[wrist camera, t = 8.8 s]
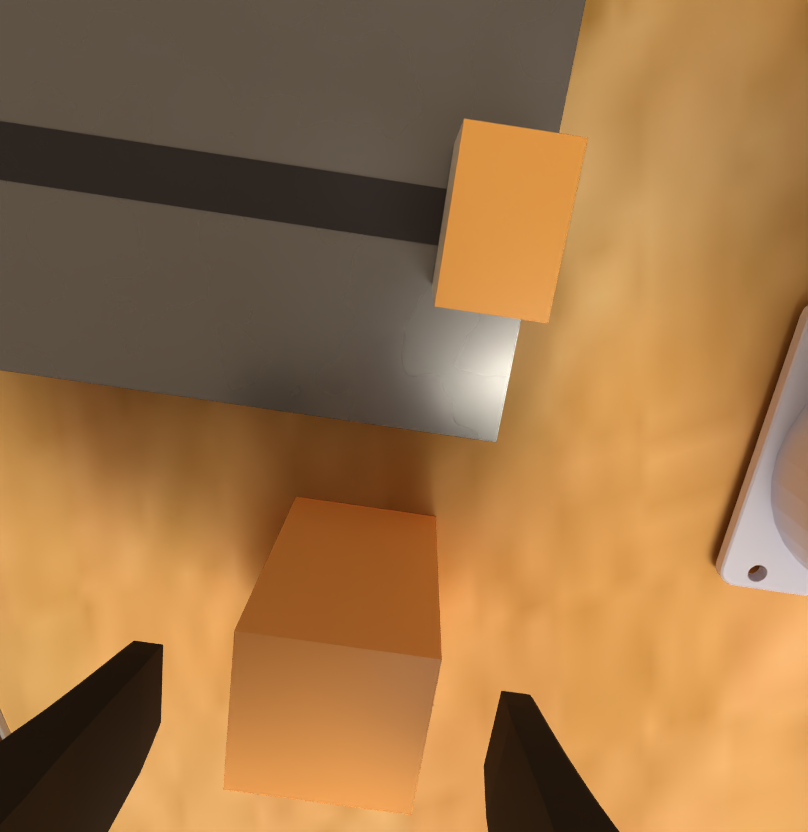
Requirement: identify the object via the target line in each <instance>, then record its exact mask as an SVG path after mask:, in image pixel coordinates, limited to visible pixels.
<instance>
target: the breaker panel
mask: <svg viewBox="0 0 808 832" xmlns="http://www.w3.org/2000/svg"><path fill="white" fill-rule="evenodd" d="M585 1H586V0H0V370H4V371H10V372H17V373H24V374H31V375H38V376H45V377H52V378H58V379H65V380H72V381H79V382H86V383H93V384H100V385H106V386H113V387H120V388H127V389H134V390H141V391H148V392H154V393H161V394H168V395H175V396H182V397H189V398H196V399H202V400H209V401H216V402H223V403H230V404H237V405H244V406H251V407H257V408H264V409H271V410H278V411H285V412H292V413H299V414H305V415H312V416H319V417H326V418H333V419H340V420H347V421H353V422H360V423H367V424H374V425H381V426H388V427H395V428H401V429H408V430H415V431H422V432H429V433H436V434H443V435H449V436H456V437H463V438H470V439H477V440H484V441H491V442H496V441H497V436H498V431H499V426H500V421H501V416H502V411H503V407H504V402H505V397H506V392H507V387H508V382H509V377H510V372H511V367H512V362H513V357H514V352H515V347H516V342H517V337H518V332H519V327H520V322H521V319H515V318H508V317H502V316H495V315H488V314H481V313H475V312H468V311H461V310H455V309H448V308H441V307H434V299H433V292H432V283H433V277H434V270H435V264H436V257H437V251H438V244H439V238H440V232H441V225H442V219H443V212H444V206H445V199H446V193H447V186H448V180H449V174H450V167H451V161H452V154H453V148H454V143H455V140H456V138H457V135H458V133H459V130H460V128H461V125H462V123H463V120H464V119H470V120H477V121H483V122H490V123H496V124H503V125H509V126H516V127H522V128H529V129H535V130H542V131H548V132H555V133H559V130H560V125H561V120H562V115H563V110H564V105H565V100H566V95H567V90H568V85H569V80H570V75H571V70H572V65H573V60H574V55H575V51H576V46H577V41H578V36H579V31H580V26H581V21H582V16H583V11H584V6H585Z"/></svg>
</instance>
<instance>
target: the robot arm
mask: <svg viewBox="0 0 808 832" xmlns="http://www.w3.org/2000/svg"><path fill="white" fill-rule="evenodd" d="M755 565H760V567H759V569H758V570H757V571H756V572H754V573H753V574H748V571H749V570H750V569H751V568H752V567H754V566H755ZM716 570H717V573H718V574H719V575H720V577H721V578H722V579H723V580H724V581H725V582H726V583H728V584H731V585H734V586H741V587H748V588H755V589H762V590H769V591H776V592H783V593H790V594H797V595H804V596H808V305H807V306H806V307H805V308H804V310H803V311H802V313H801V315H800V318H799V321H798V324H797V327H796V330H795V332H794V335H793V338H792V341H791V344H790V347H789V350H788V353H787V356H786V359H785V362H784V365H783V368H782V371H781V374H780V376H779V379H778V382H777V385H776V388H775V391H774V394H773V397H772V400H771V403H770V406H769V409H768V412H767V415H766V418H765V420H764V423H763V426H762V429H761V432H760V435H759V438H758V441H757V444H756V447H755V450H754V453H753V456H752V459H751V462H750V464H749V467H748V470H747V473H746V476H745V479H744V482H743V485H742V488H741V491H740V494H739V497H738V500H737V503H736V506H735V508H734V511H733V514H732V517H731V520H730V523H729V526H728V529H727V532H726V535H725V538H724V541H723V544H722V547H721V550H720V552H719V555H718V558H717V561H716ZM162 664H163V645H162V644H154V643H147V642H140V641H133V642H132V643H130V644H129V645H128V646H126V647H125V648H124V649H123V650H121V651H120V652H119V653H117V654H116V655H115V656H114V657H112V658H111V659H110V660H109V661H107V662H106V663H105V664H104V665H102V666H101V667H100V668H99V669H97V670H96V671H95V672H94V673H92V674H91V675H90V676H89V677H87V678H86V679H85V680H83V681H82V682H81V683H80V684H78V685H77V686H76V687H74V688H73V689H72V690H70V691H69V692H68V693H67V694H65V695H64V696H63V697H61V698H60V699H59V700H57V701H56V702H55V703H53V704H52V705H51V706H49V707H48V708H47V709H45V710H44V711H43V712H41V713H40V714H38V715H37V716H36V717H34V718H33V719H31V720H30V721H28V722H27V723H26V724H24V725H23V726H21V727H20V728H18V729H17V730H15V731H14V732H13V733H11V734H10V735H8V736H7V737H5V738H4V739H3V740H1V741H0V832H108V831H109V829H110V827H111V825H112V823H113V822H114V820H115V818H116V816H117V814H118V813H119V811H120V809H121V807H122V805H123V803H124V802H125V800H126V798H127V796H128V794H129V792H130V790H131V789H132V787H133V785H134V783H135V781H136V779H137V777H138V776H139V774H140V772H141V769H142V767H143V765H144V762H145V760H146V758H147V755H148V753H149V751H150V748H151V746H152V743H153V741H154V738H155V736H156V733H157V731H158V728H159V726H160V723H161V699H162ZM484 780H485V802H486V819H487V825H488V832H619V831H618V829H617V828H616V827H615V825H614V824H613V823H612V821H611V820H610V818H609V817H608V816H607V814H606V813H605V812H604V810H603V809H602V807H601V806H600V805H599V803H598V802H597V800H596V799H595V798H594V796H593V795H592V793H591V792H590V790H589V789H588V787H587V786H586V784H585V783H584V781H583V780H582V778H581V777H580V775H579V774H578V772H577V771H576V769H575V768H574V766H573V764H572V763H571V761H570V760H569V758H568V757H567V755H566V753H565V752H564V750H563V749H562V747H561V745H560V744H559V742H558V740H557V739H556V737H555V735H554V734H553V732H552V730H551V729H550V727H549V725H548V724H547V722H546V720H545V719H544V717H543V715H542V713H541V712H540V710H539V708H538V706H537V705H536V703H535V701H534V700H533V698H532V697H531V695H528V694H521V693H514V692H506V691H501V695H500V700H499V704H498V708H497V712H496V716H495V721H494V725H493V729H492V733H491V738H490V742H489V746H488V750H487V755H486V759H485V763H484Z"/></svg>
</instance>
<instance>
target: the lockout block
mask: <svg viewBox="0 0 808 832" xmlns="http://www.w3.org/2000/svg"><path fill="white" fill-rule="evenodd" d="M441 660H442V656H441V633H440V609H439V586H438V562H437V539H436V517H435V516H428V515H421V514H414V513H408V512H401V511H394V510H387V509H380V508H373V507H366V506H359V505H352V504H345V503H338V502H331V501H324V500H317V499H310V498H303V497H296V498H295V500H294V502H293V504H292V506H291V509H290V511H289V513H288V515H287V517H286V520H285V522H284V524H283V526H282V528H281V530H280V533H279V535H278V537H277V539H276V541H275V543H274V546H273V548H272V550H271V552H270V554H269V557H268V559H267V561H266V563H265V565H264V567H263V570H262V572H261V574H260V576H259V578H258V580H257V583H256V585H255V587H254V589H253V591H252V594H251V596H250V598H249V600H248V602H247V604H246V607H245V609H244V611H243V613H242V615H241V617H240V620H239V622H238V624H237V626H236V628H235V630H234V644H233V658H232V672H231V687H230V701H229V716H228V730H227V744H226V759H225V773H224V787H223V789H224V790H231V791H238V792H246V793H253V794H260V795H268V796H275V797H283V798H290V799H297V800H305V801H312V802H319V803H327V804H334V805H341V806H349V807H356V808H364V809H371V810H378V811H386V812H393V813H400V814H408V815H411V814H412V809H413V804H414V798H415V793H416V788H417V783H418V778H419V773H420V768H421V763H422V758H423V752H424V747H425V742H426V737H427V732H428V727H429V722H430V717H431V712H432V706H433V701H434V696H435V691H436V686H437V681H438V676H439V671H440V666H441Z"/></svg>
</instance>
